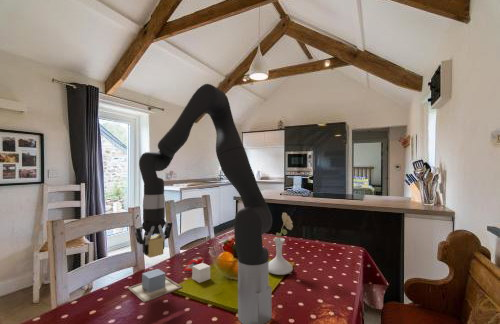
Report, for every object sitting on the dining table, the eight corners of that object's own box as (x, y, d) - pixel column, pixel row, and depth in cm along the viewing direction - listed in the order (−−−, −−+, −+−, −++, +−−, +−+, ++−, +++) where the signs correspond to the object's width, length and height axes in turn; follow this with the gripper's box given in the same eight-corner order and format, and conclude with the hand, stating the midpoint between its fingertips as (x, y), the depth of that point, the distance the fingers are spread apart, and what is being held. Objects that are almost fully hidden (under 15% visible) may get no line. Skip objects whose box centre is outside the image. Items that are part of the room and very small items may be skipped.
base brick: (165, 286, 92) (165, 273, 92) (149, 292, 88) (149, 278, 88) (157, 281, 97) (157, 268, 97) (142, 287, 92) (142, 273, 92)
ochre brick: (163, 254, 93) (163, 237, 93) (150, 257, 89) (150, 240, 89) (157, 250, 96) (157, 235, 96) (144, 254, 93) (144, 237, 93)
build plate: (182, 290, 92) (182, 286, 92) (144, 305, 82) (144, 301, 82) (163, 278, 102) (163, 275, 102) (127, 291, 91) (127, 287, 91)
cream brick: (210, 281, 99) (210, 266, 99) (199, 285, 95) (199, 269, 96) (202, 277, 103) (202, 262, 103) (192, 281, 99) (192, 266, 99)
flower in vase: (279, 280, 100) (279, 217, 100) (260, 271, 108) (260, 212, 109) (300, 271, 108) (300, 213, 108) (281, 263, 117) (281, 209, 117)
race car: (193, 276, 104) (193, 267, 104) (181, 275, 105) (181, 266, 105) (206, 264, 117) (206, 255, 117) (195, 263, 118) (195, 254, 118)
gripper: (138, 210, 85) (138, 260, 85) (176, 205, 95) (176, 250, 95) (129, 207, 90) (129, 255, 90) (167, 203, 101) (167, 245, 100)
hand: (153, 252), depth 93 cm, fingers closed on ochre brick, 5 cm apart
